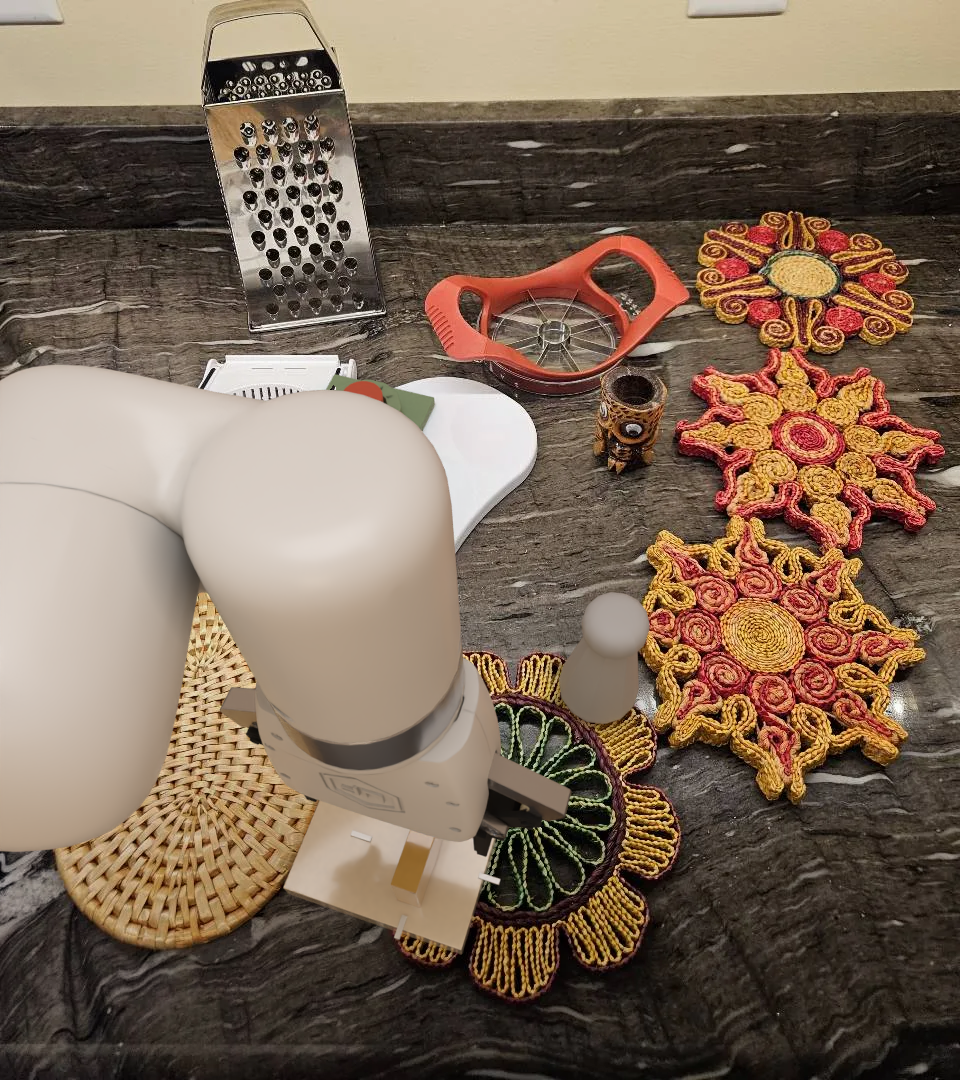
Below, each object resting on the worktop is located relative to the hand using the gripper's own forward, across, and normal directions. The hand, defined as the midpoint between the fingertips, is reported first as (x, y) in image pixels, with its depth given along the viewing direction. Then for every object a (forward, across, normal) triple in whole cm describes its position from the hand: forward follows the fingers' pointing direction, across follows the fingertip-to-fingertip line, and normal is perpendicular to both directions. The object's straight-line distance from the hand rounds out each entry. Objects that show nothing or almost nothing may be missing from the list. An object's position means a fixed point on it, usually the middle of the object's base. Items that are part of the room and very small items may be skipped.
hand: (405, 800), depth 47 cm
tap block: (+14, -2, 0) cm, 14 cm away
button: (+10, -17, +34) cm, 40 cm away
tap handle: (+11, 0, 0) cm, 11 cm away
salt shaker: (+14, +8, +15) cm, 22 cm away
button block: (+14, -18, +34) cm, 41 cm away
